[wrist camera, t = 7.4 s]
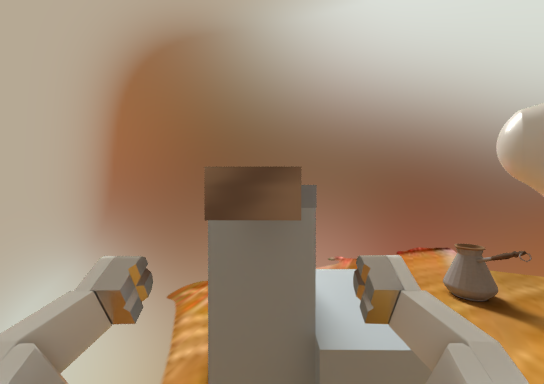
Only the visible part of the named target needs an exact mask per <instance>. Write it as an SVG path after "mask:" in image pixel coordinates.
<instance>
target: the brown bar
mask: <svg viewBox="0 0 544 384" xmlns="http://www.w3.org/2000/svg"><path fill="white" fill-rule="evenodd" d="M205 220H288V221H301V167H205Z"/></svg>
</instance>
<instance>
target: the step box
mask: <svg viewBox="0 0 544 384" xmlns="http://www.w3.org/2000/svg"><path fill="white" fill-rule="evenodd" d="M315 248H316V185H301V221H288V220H208V384H425V383H426V381H427V380H428V378H429V376H430V375H431V373H432V371H431V370H430V369H429V368H428V367H427V366H426V365H425V364H424V363H423V362H422V361H421V359H420V358H419V357H418V356H417V355H416V354H415V353H414V352H413V351H412V350H411V349H410V348H409V347H408V346H407V345H406V343H405V342H404V341H403V340H402V339H401V338H400V337H399V336H398V335H397V334H396V333H395V332H394V331H393V330H392V329H391V327H390V326H389V324H365V322H364V319H363V316H362V313H361V310H360V303H361V300H360V299H359V298H357V297H356V294H355V291H354V286H353V276H354V271H355V270H356V269H316V264H315V263H316V254H315V253H316V249H315Z"/></svg>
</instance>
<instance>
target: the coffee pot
mask: <svg viewBox="0 0 544 384" xmlns="http://www.w3.org/2000/svg"><path fill="white" fill-rule="evenodd" d="M455 247H456V248H457V252H458V253H457V255H456V257H455V258H454V260H453V262H452V264H451V266H450V268H449V269H448V271H447V273H446V275H445V277H444V279H443V282H444V284H445V286H446V287H447V289H448V290H450V291H451V293H452V294H454V295H455V296H457V297H460V298H463V299H467V300H472V301H487V300H488V299H489V298H492V297H494V296H495V295H496V294H497V292H498V287H497V285H496V283H495V281H494V279H493V277H492V275H491V273H490V271H489V269H488V267H487V265H486V263H485V262H486V261H491V260H502V259H509V258H511V257H518V256H519V257H520V256H522V255H525V254H528V253H526V252H525V251H519V252H515V251H514V252H512V253H503V254H500V255H496V256H492V257H488V258H483V257H482V253H483V250H485V247H482V246H478V245H471V244H455ZM529 256H530V254H529ZM520 259H521V257H520ZM521 260H523V259H521ZM530 260H531V256H530ZM530 260H529V261H530ZM523 261H525V260H523ZM526 262H528V261H526Z"/></svg>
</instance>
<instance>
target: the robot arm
mask: <svg viewBox="0 0 544 384" xmlns="http://www.w3.org/2000/svg"><path fill="white" fill-rule="evenodd" d="M496 150H497V156H498V159H499V161H500V163H501V165H502V166H503V168H504V169H505V170H506V171H507V172H508V173H509V174H510V175H511V176H513V177H514V178H516V179H517V180H519V181H521V182H523V183H525V184H527V185H528V186H530V187H531V188H533V189H534V190H536V191H537V192H539V193H540V194H541V195H542V196H543V197H544V103H542V104H539V105H535V106H532V107H529V108H525V109H522V110H519V111H517V112H516V113H515V114H514V115H513V116H512V117H511V118H510V119H509V120H508V121H507V122H506V123H505V125H504V126H503V128H502V129H501V131H500V133H499V136H498V139H497V148H496ZM356 264H357V267H358V269H356V270H355V271H354V276H353V286H354V291H355V294H356V297H357V298H359V299H360V300H361V303H360V310H361V313H362V316H363V319H364V322H365V324H389V326H390V327H391V329H392V330H393V331H394V332H395V333H396V334H397V335H398V336H399V337H400V338H401V339H402V340H403V341H404V342H405V343H406V345H407V346H408V347H409V348H410V349H411V350H412V351H413V352H414V353H415V354H416V355H417V356H418V357H419V358H420V359H421V361H422V362H423V363H424V364H425V365H426V366H427V367H428V368H429V369H430V370H431V371H432V373H431V375H430V376H429V378H428V380H427V381H426V383H425V384H529V383H528V381H527V380H526V378H525V377H524V376H523V374H522V373H521V372H520V370H519V369H518V368H517V366H516V365H515V364H514V362H513V361H512V359H511V358H510V357H509V355H508V354H507V353H506V351H505V350H504V349H503V347H502V346H501V344H500V343H499V342H498V341H496V340H495V339H493V338H492V337H491V336H489V335H488V334H486V333H485V332H484V331H482V330H481V329H479V328H478V327H476V326H475V325H474V324H472V323H471V322H469V321H468V320H467V319H465V318H464V317H462V316H461V315H459V314H458V313H457V312H455V311H454V310H452V309H451V308H449V307H448V306H447V305H445V304H444V303H442V302H441V301H440V300H438V299H437V298H435V297H434V296H432V295H431V294H430V293H428V292H427V291H421V289H420V287H419V286H418V284H417V282H416V281H415V279H414V277H413V276H412V274H411V272H410V271H409V269H408V267H407V265H406V264H405V262H404V260H403V259H402V257H401V256H399V255H385V256H384V255H382V256H381V255H379V256H378V255H374V256H358V258H357V261H356ZM147 265H148V263H147V260H146V258H145V257H140V256H103V257H101V258H100V259H99V260H98V261H97V263H96V264H95V265H94V266H93V268H92V269H91V270H90V271H89V273H88V274H87V275H86V277H85V278H84V279H83V280H82V282H81V283H80V284H79V285H78V287H77V288H76V290H75V291H69V292H68V293H66V294H64V295H63V296H61V297H59V298H58V299H56V300H55V301H53V302H52V303H50V304H48V305H46V306H45V307H43V308H41V309H40V310H38V311H37V312H35V313H34V314H32V315H30V316H28V317H27V318H25V319H24V320H22V321H20V322H19V323H17V324H15V325H14V326H12V327H10V328H9V329H7V330H6V331H4V332H3V333H1V334H0V384H68V383H67V382H66V380H65V379H64V378H63V377H62V376H61V374H60V373H61V372H62V371H63V370H65V369H66V368H67V367H68V366H69V365H70V364H71V363H72V362H73V361H74V360H75V359H76V358H78V356H80V355H81V354H82V353H83V352H84V351H85V350H86V349H87V348H88V347H89V346H90V345H92V343H94V342H95V341H96V340H97V339H98V338H99V337H100V336H101V335H102V334H103V333H104V332H106V331H107V330H108V329H109V328H110V327H111V326H112V325H111V324H135V323H136V321H137V319H138V317H139V315H140V313H141V311H142V309H143V305H142V301H144V300H145V299H146V298H147V297H148V296H149V294H150V292H151V289H152V284H153V279H152V274H151V272H150V271H149V270H148V269H146V266H147Z"/></svg>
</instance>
